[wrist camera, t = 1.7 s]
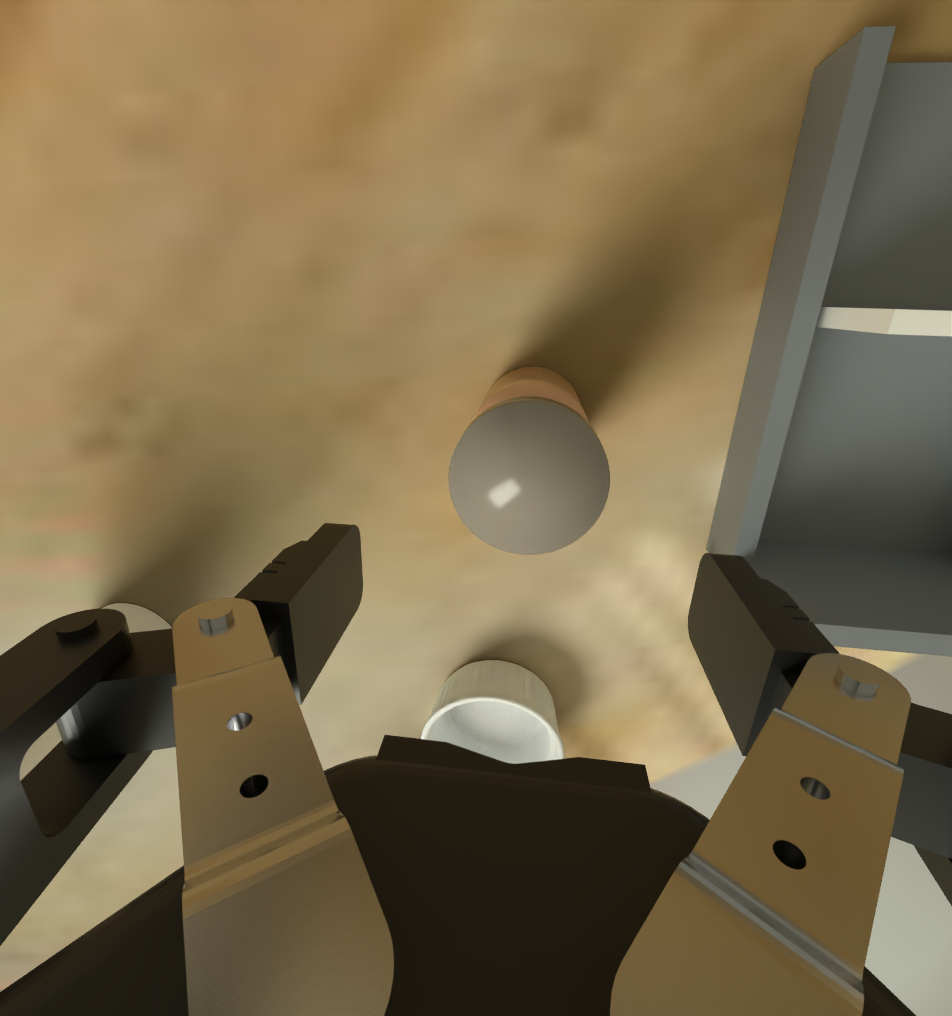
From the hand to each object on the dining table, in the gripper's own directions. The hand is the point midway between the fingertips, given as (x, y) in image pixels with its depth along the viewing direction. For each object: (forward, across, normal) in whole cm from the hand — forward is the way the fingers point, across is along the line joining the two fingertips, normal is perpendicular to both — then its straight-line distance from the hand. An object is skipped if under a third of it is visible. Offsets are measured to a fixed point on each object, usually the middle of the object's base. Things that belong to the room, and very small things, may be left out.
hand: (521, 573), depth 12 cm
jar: (+17, 0, 0) cm, 17 cm away
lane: (+17, -17, -4) cm, 24 cm away
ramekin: (+17, +1, +20) cm, 26 cm away
